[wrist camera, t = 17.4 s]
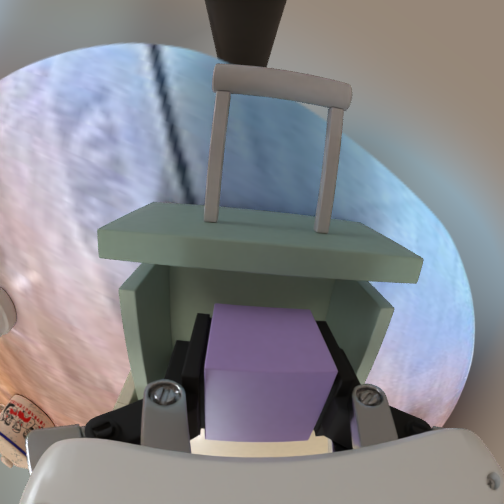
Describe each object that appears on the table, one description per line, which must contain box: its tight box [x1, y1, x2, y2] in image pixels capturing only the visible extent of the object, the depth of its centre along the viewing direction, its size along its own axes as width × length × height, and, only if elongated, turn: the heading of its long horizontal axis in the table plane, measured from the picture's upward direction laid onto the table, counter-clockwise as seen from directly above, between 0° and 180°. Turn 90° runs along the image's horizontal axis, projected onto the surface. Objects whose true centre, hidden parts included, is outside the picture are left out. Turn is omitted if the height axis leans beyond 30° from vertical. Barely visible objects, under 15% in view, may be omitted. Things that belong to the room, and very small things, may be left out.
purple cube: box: [204, 303, 338, 442], centre depth 10 cm, size 4×4×4 cm
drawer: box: [97, 64, 423, 400], centre depth 14 cm, size 22×13×7 cm, turn 174°
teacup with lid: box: [0, 395, 54, 469], centre depth 19 cm, size 12×9×12 cm
